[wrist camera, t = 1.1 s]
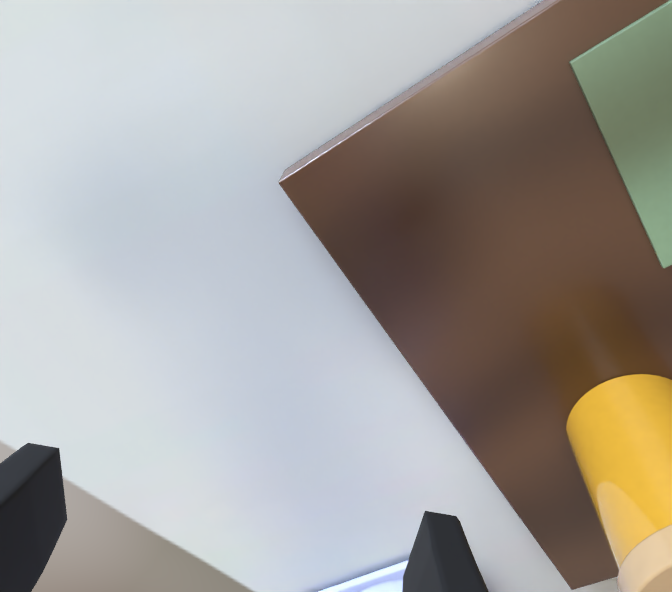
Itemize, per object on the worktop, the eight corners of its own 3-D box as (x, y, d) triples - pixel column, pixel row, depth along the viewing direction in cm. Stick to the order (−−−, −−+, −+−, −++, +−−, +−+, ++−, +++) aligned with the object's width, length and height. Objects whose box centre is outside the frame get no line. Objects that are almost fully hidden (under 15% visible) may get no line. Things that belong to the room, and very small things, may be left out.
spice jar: (719, 441, 21) (856, 634, 15) (590, 487, 22) (665, 678, 16) (675, 346, 19) (809, 521, 13) (537, 403, 21) (600, 583, 15)
